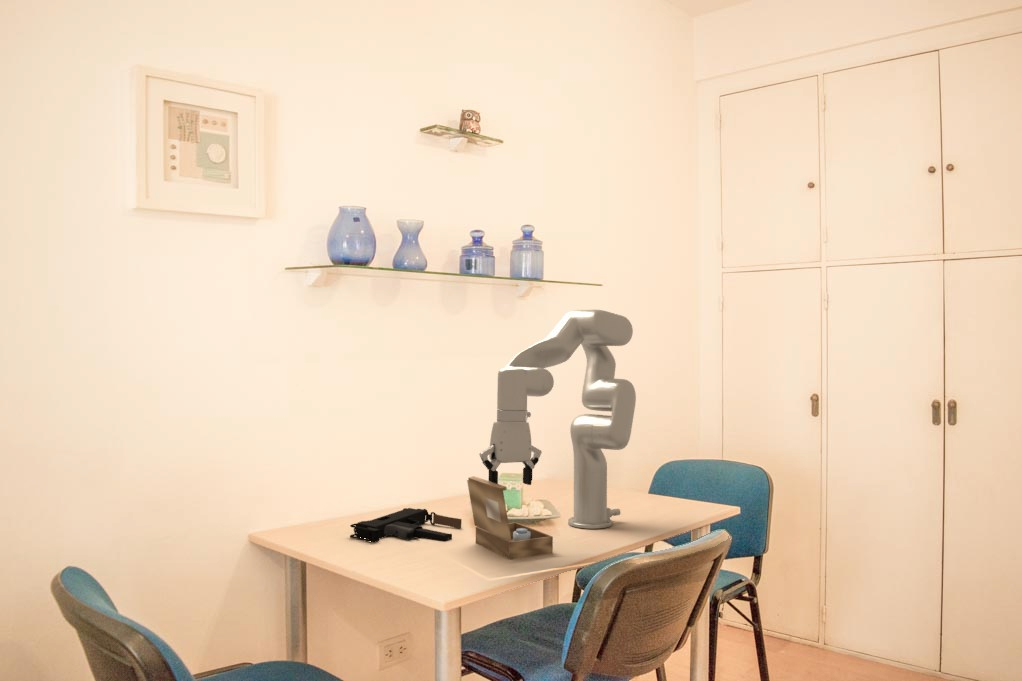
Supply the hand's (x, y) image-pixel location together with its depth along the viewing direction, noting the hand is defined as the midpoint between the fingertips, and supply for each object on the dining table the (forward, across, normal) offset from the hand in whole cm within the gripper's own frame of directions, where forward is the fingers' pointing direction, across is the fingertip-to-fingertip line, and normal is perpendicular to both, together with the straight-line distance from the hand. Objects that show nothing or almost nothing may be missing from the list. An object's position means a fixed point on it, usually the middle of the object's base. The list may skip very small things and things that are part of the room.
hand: (510, 485), depth 197 cm
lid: (+5, +5, 0) cm, 7 cm away
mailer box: (+16, -1, 0) cm, 16 cm away
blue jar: (+16, -4, 0) cm, 16 cm away
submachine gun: (+17, +13, -28) cm, 35 cm away
